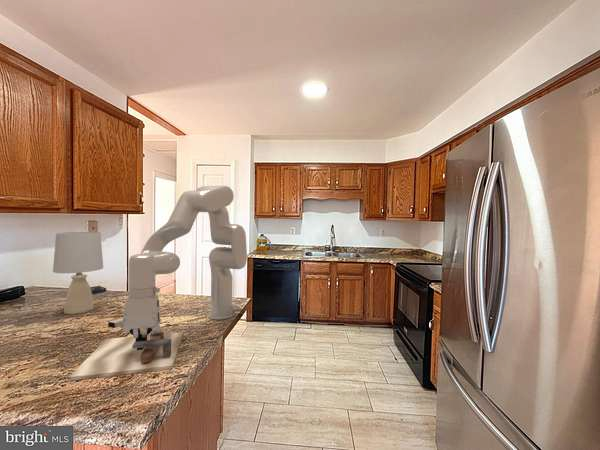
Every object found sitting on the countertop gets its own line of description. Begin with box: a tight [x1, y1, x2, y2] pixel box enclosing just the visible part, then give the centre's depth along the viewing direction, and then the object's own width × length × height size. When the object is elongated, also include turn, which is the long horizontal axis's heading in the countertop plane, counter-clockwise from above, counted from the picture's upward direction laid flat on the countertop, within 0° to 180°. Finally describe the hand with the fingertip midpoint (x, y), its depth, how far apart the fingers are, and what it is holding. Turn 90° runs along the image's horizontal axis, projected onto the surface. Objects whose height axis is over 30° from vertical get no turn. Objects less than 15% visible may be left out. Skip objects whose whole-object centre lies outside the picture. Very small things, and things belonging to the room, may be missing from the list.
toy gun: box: [107, 317, 162, 329], centre depth 118 cm, size 3×16×12 cm
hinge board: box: [68, 328, 184, 382], centre depth 92 cm, size 26×25×6 cm
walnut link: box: [141, 330, 165, 363], centre depth 93 cm, size 19×4×2 cm, turn 16°
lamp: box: [52, 231, 104, 315], centre depth 132 cm, size 19×19×37 cm
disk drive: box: [90, 285, 107, 295], centre depth 163 cm, size 10×3×15 cm
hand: (141, 348), depth 91 cm, fingers closed
